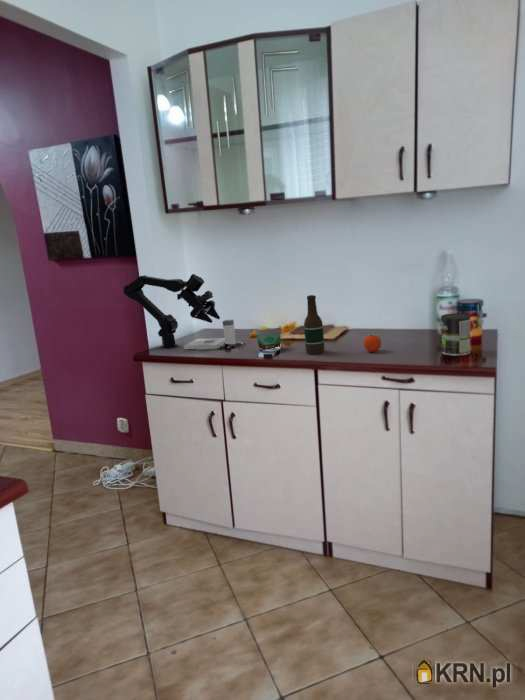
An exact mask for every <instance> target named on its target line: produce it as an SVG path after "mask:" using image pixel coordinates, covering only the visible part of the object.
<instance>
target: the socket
mask: <svg viewBox="0 0 525 700" xmlns="http://www.w3.org/2000/svg"><path fill="white" fill-rule="evenodd" d="M224 343H225V339H224V337H221V338H219V337H217V338H215V337H214V338H212V337H211V338H196V339H194V340H192V341H190V342H189V343H186V344H184V345H183V349H197V350H218V349H219V348H221V347H223V346H224V345H225V344H224ZM223 344H224V345H223ZM222 345H223V346H222ZM220 346H221V347H220ZM217 348H218V349H217Z"/></svg>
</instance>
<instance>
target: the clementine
mask: <svg viewBox="0 0 525 700" xmlns="http://www.w3.org/2000/svg"><path fill="white" fill-rule="evenodd" d="M381 339H382V338H381V335H379V334H369V335H367V336H366V337H365V338H364V340H363V347H364V348H365V350H366V351H368V352H370V353H375V352H377V351H379V350H380V349H381V346H382V340H381Z"/></svg>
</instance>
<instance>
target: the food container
mask: <svg viewBox="0 0 525 700" xmlns="http://www.w3.org/2000/svg"><path fill="white" fill-rule="evenodd" d="M282 332H283V330H282V327H281V326H279V327H276V328H265V329H255V331H254V335H256V340H257V344H258V349H259V351H260V352H261V351H263V350H265V349H271V348H275V347H278V346H279V347H280V348H281V333H282Z"/></svg>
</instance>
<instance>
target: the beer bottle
mask: <svg viewBox="0 0 525 700" xmlns="http://www.w3.org/2000/svg"><path fill="white" fill-rule="evenodd" d="M306 299H307V315H306V317H305V319H304V322H303V328H304V329H303V331H304V344H305V352H306V354H307V355H310V356H311V355H313V356H314V355H321V354H323V353H325V338H324V325H323V320H322V318H321V317H320V316H319V314H318V313H319V312H318V310H317V309H318V307H317V302H316V295H314V294H313V295H311V294H310V295H306Z"/></svg>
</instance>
